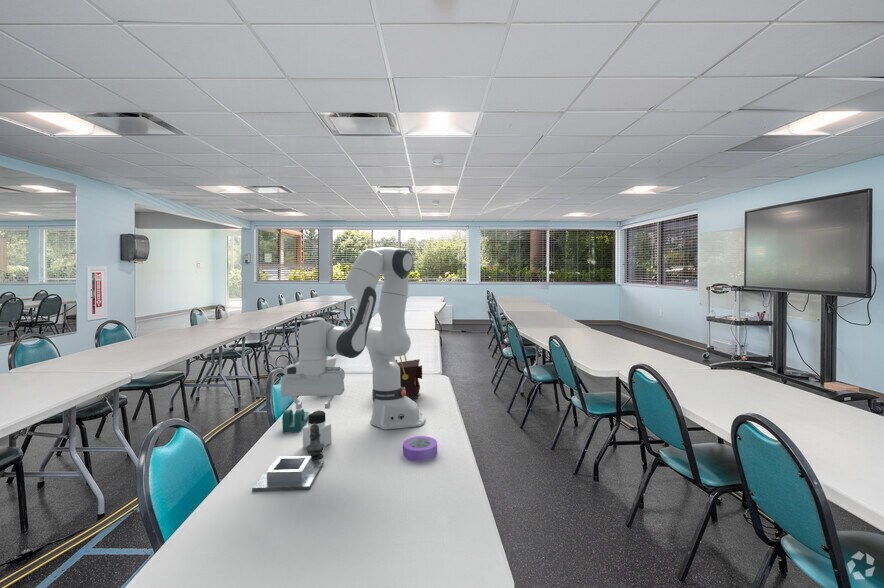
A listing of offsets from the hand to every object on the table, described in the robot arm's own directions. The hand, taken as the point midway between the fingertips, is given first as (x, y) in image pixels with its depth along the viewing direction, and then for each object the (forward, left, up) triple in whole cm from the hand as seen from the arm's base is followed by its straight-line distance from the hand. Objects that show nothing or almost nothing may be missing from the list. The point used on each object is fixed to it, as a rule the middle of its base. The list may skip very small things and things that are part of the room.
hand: (313, 408), depth 136 cm
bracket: (+16, -32, -17) cm, 40 cm away
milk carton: (+15, -77, -17) cm, 80 cm away
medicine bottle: (+2, -10, -17) cm, 20 cm away
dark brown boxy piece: (-23, -66, -17) cm, 72 cm away
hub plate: (+4, +13, -17) cm, 21 cm away
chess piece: (0, 0, -17) cm, 17 cm away
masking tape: (-35, -1, -17) cm, 39 cm away
